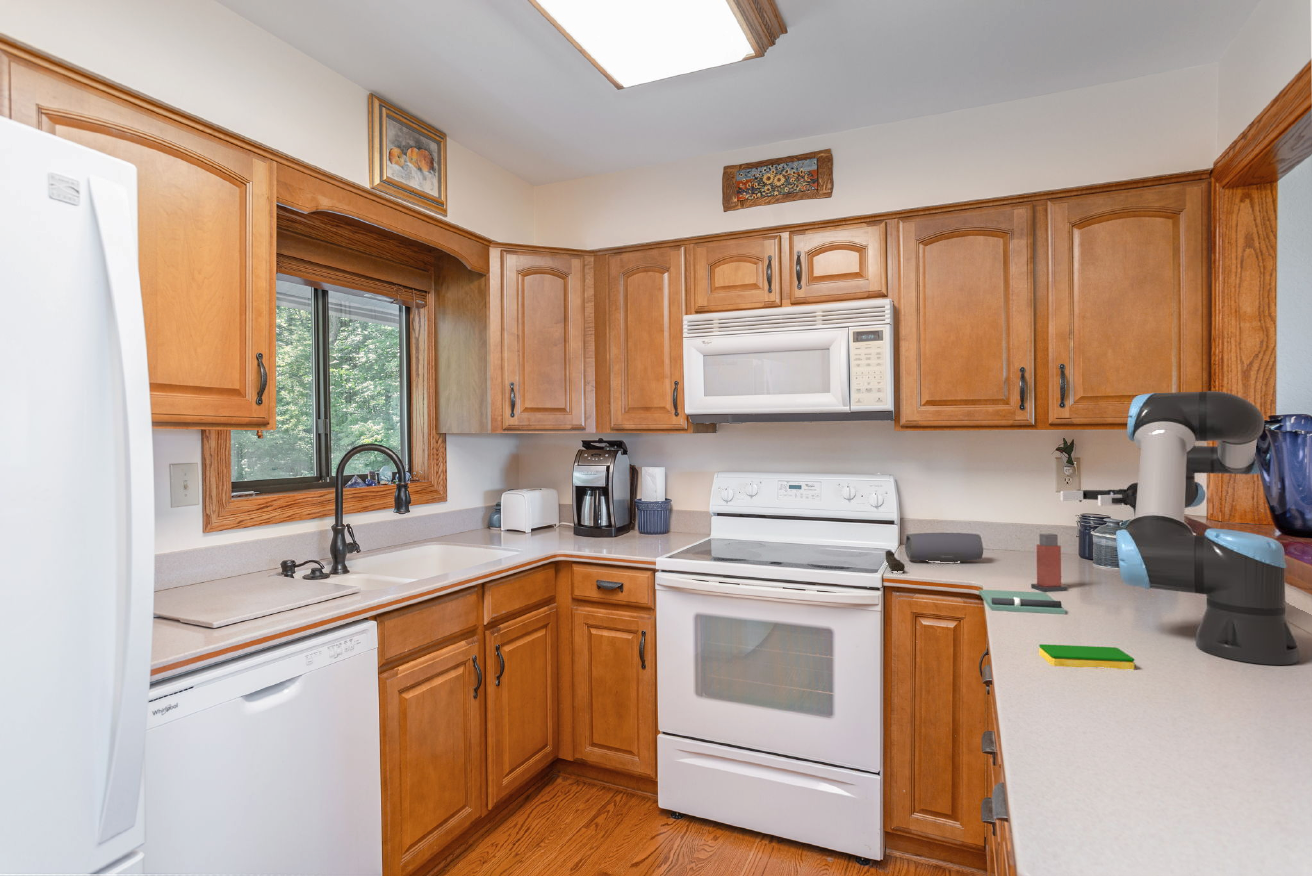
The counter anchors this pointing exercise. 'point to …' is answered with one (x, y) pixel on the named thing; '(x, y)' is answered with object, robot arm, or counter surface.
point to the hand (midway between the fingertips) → (1079, 498)
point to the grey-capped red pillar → (1048, 564)
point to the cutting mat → (1019, 595)
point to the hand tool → (894, 562)
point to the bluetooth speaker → (944, 546)
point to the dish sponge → (1086, 656)
